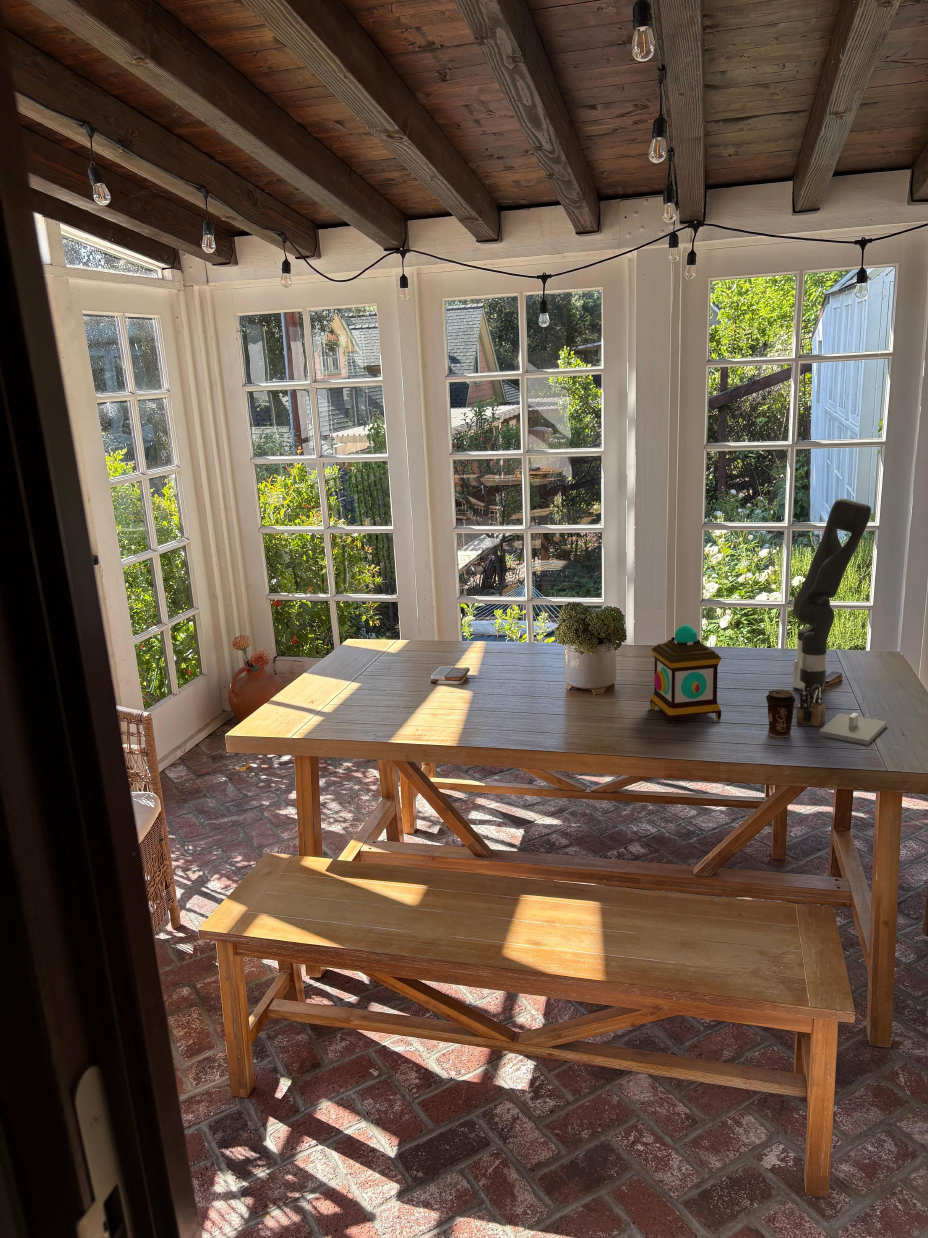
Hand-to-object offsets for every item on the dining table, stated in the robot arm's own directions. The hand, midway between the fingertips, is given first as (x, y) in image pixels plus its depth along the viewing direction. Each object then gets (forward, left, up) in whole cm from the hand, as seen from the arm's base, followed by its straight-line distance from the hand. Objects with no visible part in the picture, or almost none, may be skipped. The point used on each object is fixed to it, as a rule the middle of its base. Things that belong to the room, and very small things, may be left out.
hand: (810, 718), depth 281 cm
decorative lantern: (-35, -15, -1) cm, 38 cm away
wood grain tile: (+13, -1, 0) cm, 13 cm away
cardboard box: (0, 0, -1) cm, 1 cm away
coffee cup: (-4, -15, -1) cm, 16 cm away
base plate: (+13, -1, -1) cm, 13 cm away
